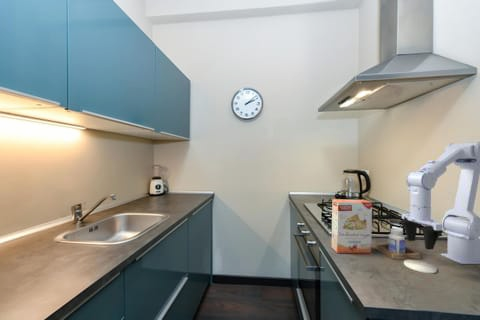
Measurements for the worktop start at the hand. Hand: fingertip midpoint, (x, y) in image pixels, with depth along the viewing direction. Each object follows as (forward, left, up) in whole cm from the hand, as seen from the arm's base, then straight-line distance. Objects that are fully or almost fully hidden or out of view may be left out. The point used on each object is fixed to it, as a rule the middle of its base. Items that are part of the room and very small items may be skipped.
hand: (419, 244), depth 78 cm
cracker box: (+17, -14, -8) cm, 23 cm away
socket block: (0, -11, -8) cm, 14 cm away
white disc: (0, 0, -8) cm, 8 cm away
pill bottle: (0, -11, -8) cm, 14 cm away
